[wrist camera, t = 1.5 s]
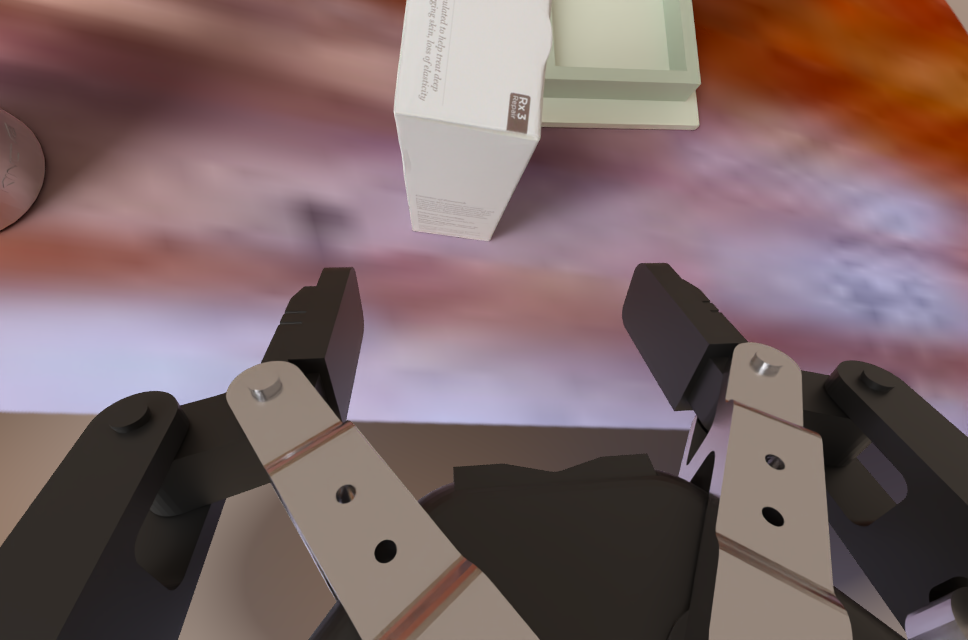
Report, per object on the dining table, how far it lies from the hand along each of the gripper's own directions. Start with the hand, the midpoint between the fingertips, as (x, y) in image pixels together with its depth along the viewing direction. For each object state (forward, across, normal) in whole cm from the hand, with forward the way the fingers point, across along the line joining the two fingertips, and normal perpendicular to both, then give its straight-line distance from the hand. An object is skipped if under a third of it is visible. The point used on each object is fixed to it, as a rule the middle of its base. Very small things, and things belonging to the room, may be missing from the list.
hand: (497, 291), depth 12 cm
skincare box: (+20, 0, +4) cm, 20 cm away
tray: (+30, -12, -6) cm, 33 cm away
